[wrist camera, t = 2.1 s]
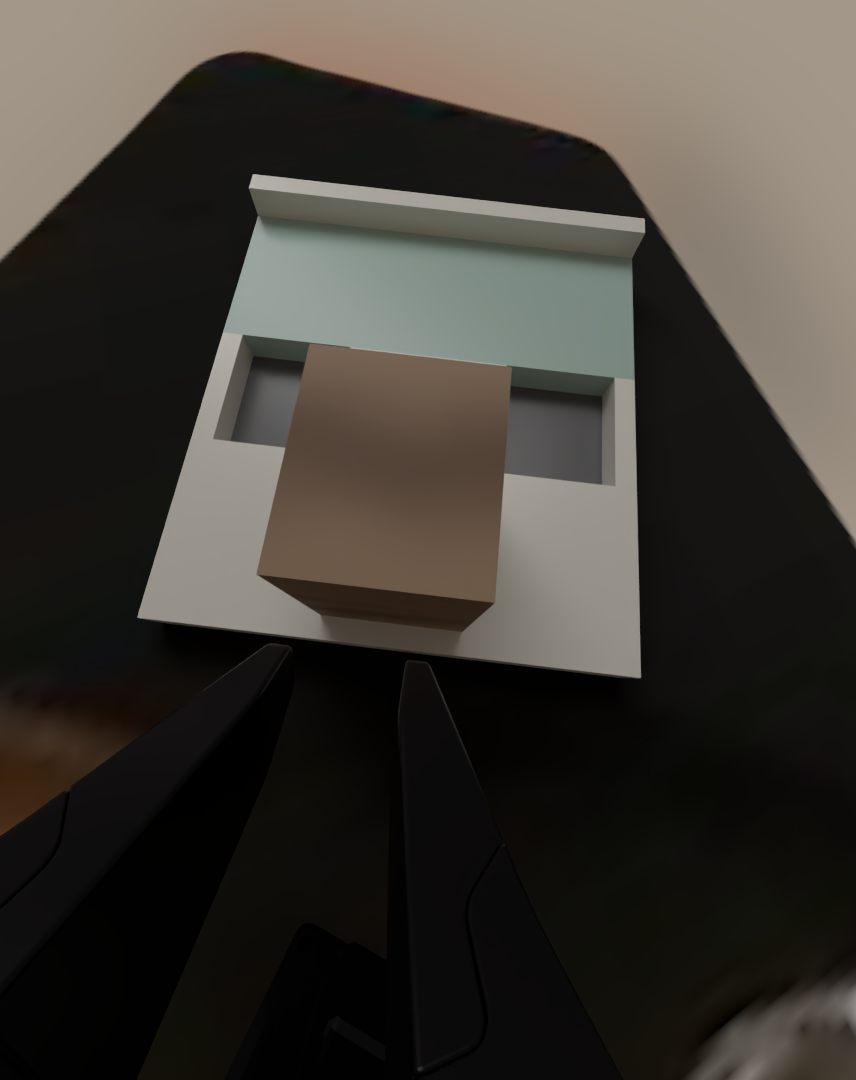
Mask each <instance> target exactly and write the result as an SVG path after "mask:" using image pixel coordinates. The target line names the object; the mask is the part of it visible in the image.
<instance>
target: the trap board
mask: <svg viewBox="0 0 856 1080" xmlns="http://www.w3.org/2000/svg"><path fill="white" fill-rule="evenodd" d="M249 190H250V193H251V195H252V198H253V201H254V204H255V207H256V210H257V213H258V219H257V222H256V225H255V229H254V232H253V235H252V239H251V242H250V245H249V248H248V252H247V255H246V258H245V262H244V265H243V268H242V272H241V275H240V278H239V282H238V285H237V288H236V292H235V295H234V298H233V302H232V305H231V308H230V312H229V315H228V318H227V321H226V325H225V328H224V331H223V335H222V338H221V341H220V345H219V348H218V351H217V355H216V358H215V361H214V365H213V368H212V371H211V375H210V378H209V381H208V385H207V388H206V391H205V394H204V398H203V401H202V404H201V408H200V411H199V414H198V418H197V421H196V424H195V428H194V431H193V434H192V438H191V441H190V444H189V448H188V451H187V454H186V458H185V461H184V464H183V467H182V471H181V474H180V477H179V481H178V484H177V487H176V491H175V494H174V497H173V501H172V504H171V507H170V511H169V514H168V517H167V521H166V524H165V527H164V530H163V534H162V537H161V540H160V544H159V547H158V550H157V554H156V557H155V560H154V564H153V567H152V570H151V574H150V577H149V580H148V584H147V587H146V590H145V594H144V597H143V600H142V603H141V607H140V610H139V613H138V617H137V618H141V619H146V620H151V621H156V622H161V623H168V624H176V625H184V626H193V627H201V628H209V629H218V630H226V631H234V632H243V633H251V634H259V635H267V636H276V637H284V638H292V639H301V640H309V641H317V642H326V643H334V644H342V645H351V646H359V647H367V648H376V649H384V650H392V651H401V652H409V653H417V654H426V655H434V656H442V657H451V658H459V659H467V660H476V661H484V662H492V663H501V664H509V665H517V666H526V667H534V668H542V669H551V670H559V671H567V672H576V673H584V674H592V675H600V676H609V677H617V678H641V659H640V613H639V567H638V521H637V475H636V429H635V383H634V336H633V290H632V257H633V255H634V253H635V251H636V249H637V247H638V246H639V244H640V242H641V240H642V238H643V236H644V234H645V219H642V218H633V217H624V216H616V215H607V214H598V213H589V212H580V211H572V210H563V209H554V208H545V207H536V206H528V205H519V204H510V203H501V202H492V201H484V200H475V199H466V198H457V197H448V196H440V195H431V194H422V193H413V192H405V191H396V190H387V189H378V188H369V187H361V186H352V185H343V184H334V183H325V182H317V181H308V180H299V179H290V178H281V177H273V176H264V175H255V174H253V176H252V180H251V183H250V186H249ZM309 344H318V345H327V346H336V347H344V348H353V349H362V350H370V351H379V352H387V353H396V354H405V355H413V356H422V357H431V358H439V359H448V360H456V361H465V362H474V363H482V364H491V365H499V366H508V367H512V373H511V387H510V401H509V415H508V428H507V442H506V456H505V470H504V484H503V498H502V512H501V526H500V540H499V553H498V567H497V581H496V595H495V603H494V604H493V605H492V606H491V607H490V608H489V609H488V610H486V611H485V612H484V613H483V614H482V615H481V616H480V617H479V618H477V619H476V620H475V621H474V622H473V623H472V624H471V625H470V626H469V627H467V628H466V629H465V630H464V631H463V632H458V631H450V630H441V629H433V628H425V627H416V626H408V625H400V624H391V623H383V622H374V621H366V620H358V619H349V618H341V617H333V616H324V615H320V614H318V613H317V612H315V611H313V610H312V609H310V608H309V607H307V606H306V605H304V604H302V603H301V602H299V601H298V600H296V599H294V598H293V597H291V596H290V595H288V594H287V593H285V592H283V591H282V590H280V589H279V588H277V587H275V586H274V585H272V584H271V583H269V582H267V581H266V580H264V579H263V578H261V577H260V576H258V575H256V573H257V569H258V565H259V560H260V556H261V552H262V547H263V543H264V539H265V534H266V530H267V526H268V521H269V517H270V513H271V508H272V504H273V500H274V495H275V491H276V487H277V482H278V478H279V474H280V469H281V465H282V461H283V457H284V452H285V448H286V444H287V439H288V435H289V431H290V426H291V422H292V418H293V413H294V409H295V405H296V400H297V396H298V392H299V387H300V383H301V379H302V374H303V370H304V366H305V361H306V357H307V353H308V348H309Z"/></svg>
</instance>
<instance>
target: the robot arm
mask: <svg viewBox="0 0 856 1080" xmlns="http://www.w3.org/2000/svg"><path fill="white" fill-rule="evenodd" d="M293 687H294V664H293V651H292V648H291V647H290V646H288V645H281V644H267V645H265V646H264V647H263V648H261V649H260V650H258V651H257V652H256V653H254V654H253V655H252V656H250V657H249V658H247V659H246V660H245V661H243V662H242V663H240V664H239V665H238V666H236V667H235V668H234V669H232V670H231V671H229V672H228V673H227V674H225V675H224V676H223V677H221V678H220V679H218V680H217V681H216V682H214V683H213V684H212V685H210V686H209V687H207V688H206V689H205V690H203V691H202V692H200V693H199V694H198V695H196V696H195V697H194V698H192V699H191V700H189V701H188V702H187V703H185V704H184V705H183V706H181V707H180V708H178V709H177V710H176V711H174V712H173V713H172V714H170V715H169V716H167V717H166V718H165V719H163V720H162V721H160V722H159V723H158V724H156V725H155V726H154V727H152V728H151V729H149V730H148V731H147V732H145V733H144V734H143V735H141V736H140V737H138V738H137V739H136V740H134V741H133V742H131V743H130V744H129V745H127V746H126V747H125V748H123V749H122V750H120V751H119V752H118V753H116V754H115V755H114V756H112V757H111V758H109V759H108V760H107V761H105V762H104V763H103V764H101V765H100V766H98V767H97V768H96V769H94V770H93V771H91V772H90V773H89V774H87V775H86V776H85V777H83V778H82V779H80V780H79V781H78V782H76V783H75V784H74V785H72V786H71V788H70V791H64V792H62V793H61V794H59V795H58V796H57V797H55V798H54V799H53V800H51V801H50V802H48V803H47V804H46V805H44V806H43V807H41V808H40V809H39V810H37V811H36V812H35V813H33V814H32V815H30V816H29V817H27V818H26V819H25V820H23V821H22V822H20V823H19V824H17V825H16V826H15V827H13V828H12V829H10V830H9V831H7V832H6V833H5V834H3V835H2V836H0V1080H137V1077H138V1075H139V1073H140V1070H141V1068H142V1066H143V1063H144V1061H145V1059H146V1056H147V1054H148V1052H149V1049H150V1047H151V1045H152V1042H153V1040H154V1038H155V1035H156V1033H157V1031H158V1028H159V1026H160V1024H161V1021H162V1019H163V1017H164V1014H165V1012H166V1010H167V1007H168V1005H169V1003H170V1000H171V998H172V996H173V993H174V991H175V989H176V986H177V984H178V982H179V979H180V977H181V975H182V972H183V970H184V968H185V965H186V963H187V961H188V958H189V956H190V954H191V951H192V949H193V947H194V944H195V942H196V940H197V937H198V935H199V933H200V930H201V928H202V926H203V923H204V921H205V919H206V916H207V914H208V912H209V909H210V907H211V905H212V902H213V900H214V898H215V895H216V893H217V891H218V888H219V886H220V884H221V881H222V879H223V877H224V874H225V872H226V870H227V867H228V865H229V863H230V860H231V858H232V856H233V853H234V851H235V849H236V846H237V844H238V842H239V839H240V837H241V835H242V832H243V830H244V828H245V825H246V823H247V821H248V818H249V816H250V814H251V811H252V809H253V806H254V804H255V802H256V799H257V797H258V795H259V792H260V790H261V788H262V785H263V783H264V780H265V778H266V775H267V772H268V769H269V766H270V763H271V760H272V757H273V754H274V750H275V747H276V744H277V740H278V737H279V734H280V731H281V727H282V724H283V721H284V718H285V714H286V711H287V708H288V705H289V701H290V698H291V695H292V691H293ZM502 842H503V839H502V836H501V834H500V832H499V829H498V827H497V824H496V822H495V820H494V817H493V815H492V812H491V810H490V808H489V805H488V803H487V800H486V798H485V796H484V793H483V791H482V789H481V786H480V784H479V781H478V779H477V777H476V774H475V772H474V769H473V767H472V765H471V762H470V760H469V757H468V755H467V753H466V750H465V748H464V745H463V743H462V741H461V738H460V736H459V734H458V731H457V729H456V726H455V724H454V722H453V719H452V717H451V714H450V712H449V710H448V707H447V705H446V702H445V700H444V698H443V695H442V693H441V691H440V688H439V686H438V683H437V681H436V679H435V676H434V674H433V671H432V669H431V667H430V665H429V664H428V663H427V662H422V661H413V660H408V661H407V662H406V664H405V669H404V676H403V682H402V688H401V695H400V701H399V708H398V717H397V727H396V737H395V747H394V757H393V767H392V777H391V787H390V810H389V864H388V918H387V961H386V960H385V959H383V958H381V957H380V956H378V955H376V954H375V953H373V952H371V951H370V950H368V949H366V948H365V947H363V946H361V945H360V944H358V943H356V942H352V943H349V944H346V943H345V942H343V941H341V940H340V939H338V938H336V937H335V936H333V935H332V934H330V933H328V932H327V931H325V930H323V929H322V928H320V927H318V926H317V925H315V924H312V923H305V924H303V925H302V926H300V927H299V929H298V930H297V932H296V934H295V936H294V938H293V940H292V942H291V944H290V946H289V948H288V950H287V952H286V954H285V957H284V959H283V961H282V963H281V965H280V967H279V969H278V971H277V973H276V975H275V977H274V979H273V981H272V983H271V985H270V988H269V990H268V992H267V994H266V996H265V998H264V1000H263V1002H262V1004H261V1006H260V1008H259V1010H258V1012H257V1014H256V1016H255V1019H254V1021H253V1023H252V1025H251V1027H250V1029H249V1031H248V1033H247V1035H246V1037H245V1039H244V1041H243V1043H242V1045H241V1047H240V1050H239V1052H238V1054H237V1056H236V1058H235V1060H234V1062H233V1064H232V1066H231V1068H230V1070H229V1072H228V1074H227V1076H226V1079H225V1080H623V1079H622V1077H621V1075H620V1073H619V1071H618V1069H617V1067H616V1066H615V1064H614V1062H613V1060H612V1058H611V1056H610V1054H609V1053H608V1051H607V1049H606V1047H605V1045H604V1043H603V1041H602V1040H601V1038H600V1036H599V1034H598V1032H597V1030H596V1028H595V1027H594V1025H593V1023H592V1021H591V1019H590V1017H589V1015H588V1014H587V1012H586V1010H585V1008H584V1006H583V1004H582V1002H581V1001H580V999H579V997H578V995H577V993H576V991H575V989H574V988H573V986H572V984H571V982H570V980H569V978H568V976H567V975H566V973H565V971H564V969H563V967H562V965H561V963H560V961H559V959H558V957H557V955H556V953H555V951H554V949H553V947H552V945H551V944H550V942H549V940H548V938H547V936H546V934H545V932H544V930H543V928H542V926H541V924H540V922H539V920H538V918H537V916H536V914H535V912H534V909H533V907H532V905H531V903H530V900H529V898H528V896H527V894H526V892H525V889H524V887H523V885H522V883H521V881H520V878H519V876H518V874H517V872H516V869H515V867H514V864H513V862H512V860H511V857H510V855H509V852H508V850H507V848H506V846H505V845H503V844H502ZM304 936H307V937H310V939H311V940H312V945H311V946H308V947H307V946H304V945H303V944H302V941H301V938H302V937H304Z"/></svg>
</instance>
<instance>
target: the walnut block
mask: <svg viewBox="0 0 856 1080" xmlns="http://www.w3.org/2000/svg"><path fill="white" fill-rule="evenodd" d="M511 373H512V367H508V366H499V365H491V364H482V363H474V362H465V361H456V360H448V359H439V358H431V357H422V356H413V355H405V354H396V353H387V352H379V351H370V350H362V349H353V348H344V347H336V346H327V345H318V344H309V348H308V353H307V357H306V361H305V366H304V370H303V374H302V379H301V383H300V387H299V392H298V396H297V400H296V405H295V409H294V413H293V418H292V422H291V426H290V431H289V435H288V439H287V444H286V448H285V452H284V457H283V461H282V465H281V469H280V474H279V478H278V482H277V487H276V491H275V495H274V500H273V504H272V508H271V513H270V517H269V521H268V526H267V530H266V534H265V539H264V543H263V547H262V552H261V556H260V560H259V565H258V569H257V573H256V575H258V576H260V577H261V578H263V579H264V580H266V581H267V582H269V583H271V584H272V585H274V586H275V587H277V588H279V589H280V590H282V591H283V592H285V593H287V594H288V595H290V596H291V597H293V598H294V599H296V600H298V601H299V602H301V603H302V604H304V605H306V606H307V607H309V608H310V609H312V610H313V611H315V612H317V613H318V614H320V615H324V616H333V617H341V618H349V619H358V620H366V621H374V622H383V623H391V624H400V625H408V626H416V627H425V628H433V629H441V630H450V631H458V632H463V631H464V630H465V629H466V628H467V627H469V626H470V625H471V624H472V623H473V622H474V621H475V620H476V619H477V618H479V617H480V616H481V615H482V614H483V613H484V612H485V611H486V610H488V609H489V608H490V607H491V606H492V605H493V604H494V603H495V595H496V581H497V567H498V553H499V540H500V526H501V512H502V498H503V484H504V470H505V456H506V442H507V428H508V415H509V401H510V387H511Z"/></svg>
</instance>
